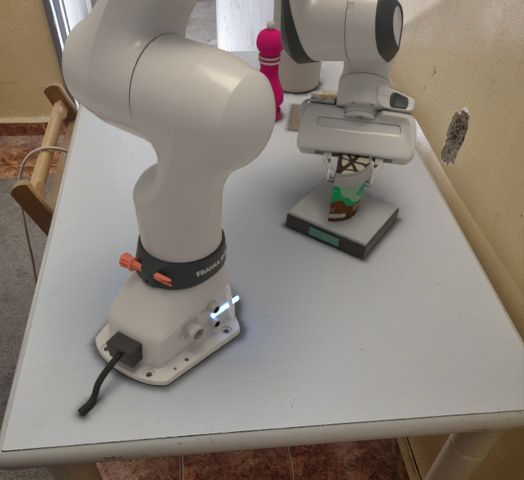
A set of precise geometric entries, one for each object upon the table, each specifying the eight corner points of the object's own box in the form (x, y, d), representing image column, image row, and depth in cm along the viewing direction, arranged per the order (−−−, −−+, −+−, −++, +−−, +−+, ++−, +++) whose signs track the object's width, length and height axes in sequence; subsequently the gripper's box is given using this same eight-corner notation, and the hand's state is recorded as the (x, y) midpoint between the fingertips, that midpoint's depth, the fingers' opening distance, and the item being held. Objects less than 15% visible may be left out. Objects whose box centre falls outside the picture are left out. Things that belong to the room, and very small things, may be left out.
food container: (361, 231, 90) (373, 180, 83) (326, 226, 91) (335, 175, 83) (365, 191, 98) (376, 141, 90) (333, 186, 99) (341, 137, 91)
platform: (367, 137, 117) (373, 108, 112) (289, 129, 118) (291, 100, 113) (367, 112, 125) (373, 84, 120) (293, 105, 126) (296, 77, 121)
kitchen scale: (362, 260, 90) (365, 245, 88) (285, 226, 96) (286, 212, 93) (396, 220, 98) (400, 205, 96) (323, 190, 103) (325, 176, 101)
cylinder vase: (267, 72, 137) (272, -42, 118) (314, 72, 138) (326, -42, 119) (273, 94, 129) (279, -25, 110) (322, 93, 130) (337, -25, 111)
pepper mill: (259, 125, 119) (262, 28, 104) (247, 111, 123) (248, 16, 108) (287, 120, 121) (294, 24, 106) (274, 106, 125) (279, 12, 110)
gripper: (301, 87, 86) (289, 172, 88) (425, 101, 85) (410, 187, 86) (302, 102, 93) (290, 180, 94) (417, 115, 91) (403, 195, 92)
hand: (348, 184), depth 90 cm, fingers closed on food container, 5 cm apart
